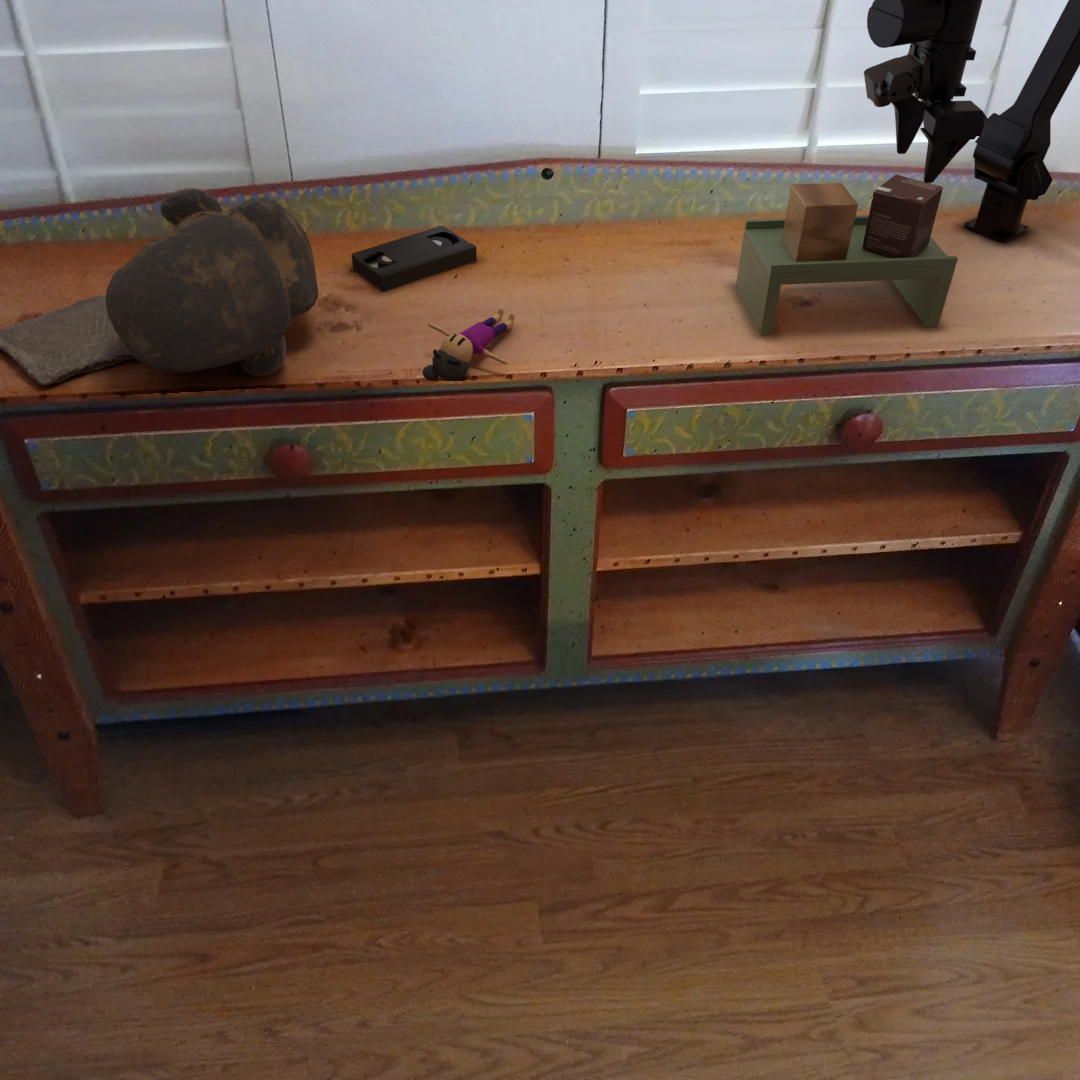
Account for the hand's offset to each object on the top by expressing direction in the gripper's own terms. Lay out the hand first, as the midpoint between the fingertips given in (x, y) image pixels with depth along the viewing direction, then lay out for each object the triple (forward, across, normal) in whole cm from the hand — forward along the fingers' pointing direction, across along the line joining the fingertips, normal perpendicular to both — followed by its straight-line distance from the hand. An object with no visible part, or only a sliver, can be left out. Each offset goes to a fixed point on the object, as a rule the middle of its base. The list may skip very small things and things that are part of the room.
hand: (914, 167), depth 135 cm
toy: (+12, +14, -53) cm, 56 cm away
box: (+4, +14, -7) cm, 16 cm away
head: (+1, +11, -74) cm, 74 cm away
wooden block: (+4, +14, -17) cm, 22 cm away
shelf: (+12, +13, -12) cm, 21 cm away
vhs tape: (+12, -3, -64) cm, 65 cm away
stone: (+11, +10, -97) cm, 98 cm away
